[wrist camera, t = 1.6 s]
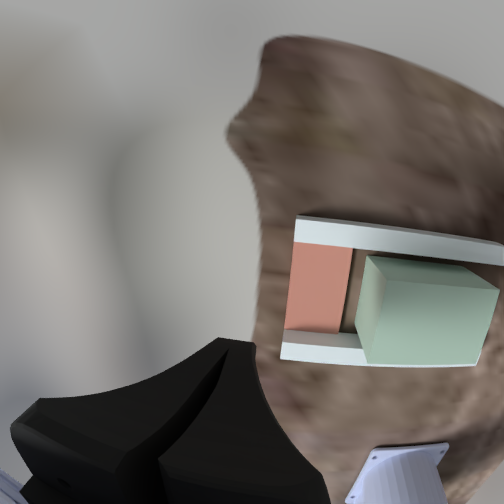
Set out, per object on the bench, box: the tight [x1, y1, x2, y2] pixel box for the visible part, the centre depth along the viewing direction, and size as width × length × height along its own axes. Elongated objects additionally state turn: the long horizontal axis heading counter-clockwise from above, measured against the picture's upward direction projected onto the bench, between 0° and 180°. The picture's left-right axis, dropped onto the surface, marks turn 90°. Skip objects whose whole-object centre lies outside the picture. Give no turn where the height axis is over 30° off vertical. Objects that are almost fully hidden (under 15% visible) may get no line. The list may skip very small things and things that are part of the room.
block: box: [355, 255, 500, 365], centre depth 16 cm, size 4×7×5 cm, turn 86°
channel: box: [280, 215, 504, 367], centre depth 17 cm, size 8×14×2 cm, turn 86°
